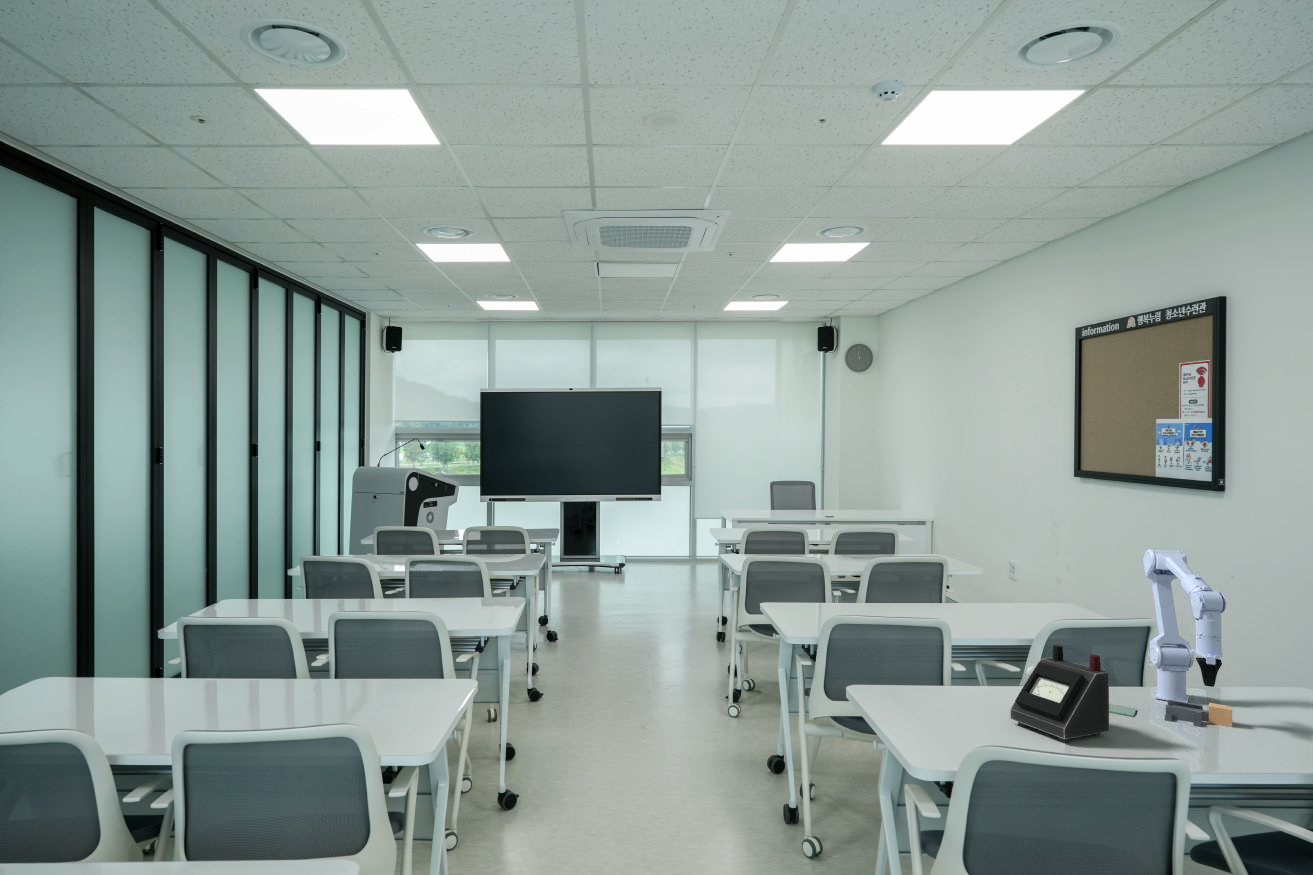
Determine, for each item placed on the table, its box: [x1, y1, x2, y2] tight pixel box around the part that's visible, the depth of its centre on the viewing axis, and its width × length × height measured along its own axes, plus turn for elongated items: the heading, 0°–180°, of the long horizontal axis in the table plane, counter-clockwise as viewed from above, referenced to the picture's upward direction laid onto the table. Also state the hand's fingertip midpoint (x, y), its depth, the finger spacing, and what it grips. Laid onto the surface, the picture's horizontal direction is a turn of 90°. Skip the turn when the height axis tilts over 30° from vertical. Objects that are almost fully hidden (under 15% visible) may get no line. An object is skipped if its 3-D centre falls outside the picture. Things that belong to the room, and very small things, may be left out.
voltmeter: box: [1009, 644, 1110, 743], centre depth 196 cm, size 16×16×20 cm
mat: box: [1109, 703, 1137, 718], centre depth 213 cm, size 8×8×1 cm
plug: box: [1174, 702, 1233, 728], centre depth 206 cm, size 4×13×4 cm, turn 52°
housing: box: [1164, 699, 1204, 728], centre depth 209 cm, size 15×8×3 cm, turn 142°
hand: (1209, 685), depth 206 cm, fingers closed
